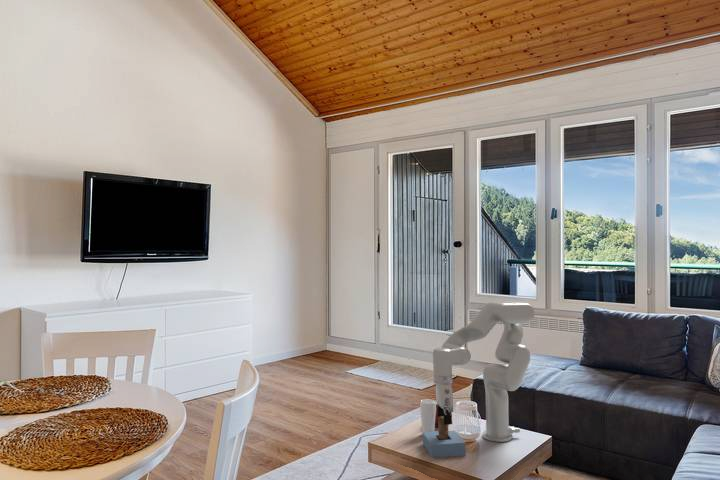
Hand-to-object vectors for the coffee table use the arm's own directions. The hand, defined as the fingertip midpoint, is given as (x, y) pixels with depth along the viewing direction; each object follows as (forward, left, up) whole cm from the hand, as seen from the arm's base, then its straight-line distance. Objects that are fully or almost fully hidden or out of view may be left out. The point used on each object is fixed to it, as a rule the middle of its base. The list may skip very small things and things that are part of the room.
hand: (444, 420), depth 215 cm
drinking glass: (+3, -17, -12) cm, 21 cm away
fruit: (-5, -28, -12) cm, 31 cm away
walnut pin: (+1, 0, -11) cm, 11 cm away
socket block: (+1, 0, -12) cm, 12 cm away
